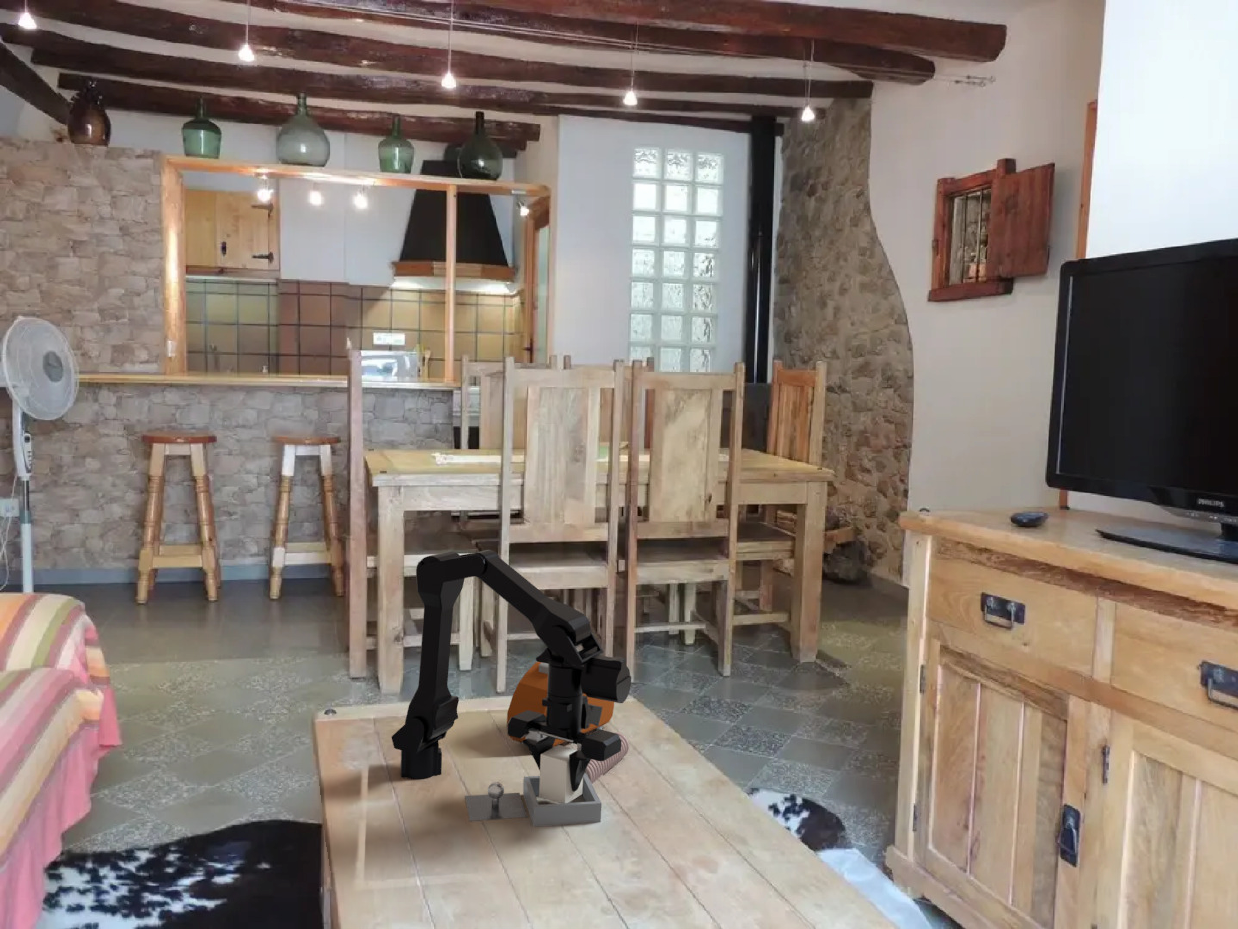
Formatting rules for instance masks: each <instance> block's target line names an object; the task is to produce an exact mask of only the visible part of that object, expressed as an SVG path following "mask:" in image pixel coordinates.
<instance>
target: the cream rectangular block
mask: <svg viewBox="0 0 1238 929" xmlns="http://www.w3.org/2000/svg"><path fill="white" fill-rule="evenodd" d="M575 751H577V749H575V748H573V747H572V748H571V747H567V746H565V745H561V744H559V745H557V746H555V747H554V748H552V749H550V750H548V751H546V752H544V753H542V754H541V760H540V770H539V776H540V785H539V796H538V798H539V797H540V798H542V799H544V800H545V799H546V800H548V801H552V802H555V803H556V804H561V803H571V802H572V801H574V800H575V799H576V798H578V797H580V796H581V795H583V794H582V787H583V778H582V780H581V783H580V785H579V787H578V789H577V790H576V791H575V792H574V791H572V787H571V778H570V762H569V755H570V754H572V753H574V752H575Z"/></svg>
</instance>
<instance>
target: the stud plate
mask: <svg viewBox="0 0 1238 929" xmlns="http://www.w3.org/2000/svg"><path fill="white" fill-rule="evenodd" d="M464 799H465V803H466V810H467V814H468V821H469V822H475V821H477V822H478V821H493V820H507V819H518V818H519V819H522V818H528V814H527V813H526V809H525V806H524V803H523V799H522V796H521V793H520V792H507V793H505V787H504V786H503V784H502V783H500V782H499V781H494V782H492V783H490V785H488V788H487V794H478V795H477V794H476V795H474V794H473V795H464Z"/></svg>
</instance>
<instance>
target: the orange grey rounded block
mask: <svg viewBox="0 0 1238 929" xmlns="http://www.w3.org/2000/svg"><path fill="white" fill-rule="evenodd" d="M547 688H548V664H547V663H542V662H537V661H536V662H534V664H533V665H532V666H531V667H530V668H529V669H528V670H527V671H525V673H524V675H523V676H522V678H521V679H520V680H519V682H518V683H517V686H516V688H515V690H514V692H513V694H512V696H511V700H510V702H509V707H508V709H507V715H506V725H507V724H508V722H509V720H510V719H511V718H512V717H513V716H516V715H518V714H520V713H522V712H524V711H527V710H529V711H533V712H537V713H541V714H544V715H545V716H546V711H547V707H546V706H542V699H544V698H546V697H547ZM583 695H584V696H586V694H583ZM587 698H588V704H592V705H596V706H600V707H603V709H602V713H601V718H600V722H599V726H596V725H593V724H590V725H589V728H587V729H581V732H582V733H586V734H587V733H589V732H591V731H597V730H599V729H601V730H603V726H604V725H606V724H608V723H609V722H610V721H611V719H612V718H613V715H614V709H615V702H611V701H606V700H600V699H595V698H590V697H587ZM507 737H509V738H510V739H511V740H513V741H515V742H518V743H520V744H521V745H524V744H523V740H525V739H526V735H525V736H524V737H523V738H521V739H520V738H516V737H513V736H509V735H508V734H507ZM565 742H567V741H563V740H560V739H555V742H554V744H553V748H554V747H555V746H557V745H561V744H564V743H565ZM524 746H525V745H524Z"/></svg>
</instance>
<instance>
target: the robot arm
mask: <svg viewBox="0 0 1238 929" xmlns="http://www.w3.org/2000/svg"><path fill="white" fill-rule="evenodd" d="M415 577H416V578H415V579H416V590H417V593H418V595H419V598H420V599H421V601H422V603H423V618H422V631H421V645H420V646H421V648H420V657H419V658H420V660H419V671H418V673H419V674H418V686H417V689H416V690H415V692H414V695H413V696H412V697H411V698H412V699H411V700H410V702H409V704H408V707H407V711H406V716H405V720H404V721H405V722H404V725H403V726H401V727H400V728H399V729H398V730H397V731H396V732H395V733H393V735H391V740H392V745H393V748H394V749H395V750H400V778H402V779H403V778H406V779H408V780H414V781H415V780H426V779H429V778H432V777H437V776H441V775H442V765H443V753H442V748H441V747H440V744H439V741H441V740H442V739H445V738H446V735H447V734H448V731H449V730H450V729H451V728H452V727H453V726H454V724H455V721H456V720H458V719H459V715H458V706H459V702H460V699H459V698H460V697H458V696H456V695H452V694H451V691H450V689H449V687H448V679H449V669H450V668H449V666H450V656H451V655H450V653H451V641H452V640H451V639H452V627H453V617H454V616H453V615H454V613H453V612H454V605H455V604H456V601H457V600H458V597H459V596H460V594H461V593H462V590H463V588H464V583H465V579H467V578H473V577H477V578H478V579H479V580H480V581H481V582H483V583H484V584H485V585H487V587H489V589H491V590H492V591H494V592H495V593H496V594H497V595H498V596H500V597H501V598H502V599H503V600H504V601H505V602H507V603H508V604H510V606H511V607H513V608H514V609H515V610H516V611H517V612H519V613H520V614H522V616H524V618H526V619H527V620H528V621H529V622H530V624H531V625H532V627H533V630H534V632H535V634H536V636H537V637H538V638H539V639H540V640H541V642H542V643H543V644H544V645H545V649H544V651H542V653H540V654H539V655H538V656H536V658H535V661H536V662H542V663H547V664H548V688H547V697H546V698H544V699H542V706H546V707H547V711H546V716H545V715H544V714H541V713H537V712H533V711H529V710H527V711H524V712H522V713H520V714H518V715H516V716H513V717H512V718H511V719H510V720H509V722H508V724H507V723H506V734H507V736H508V735H509V736H513V737H516V738H520V739H521V738H523V737H524V736H525V735H526V739H525V740H523V744H524V746H526V747H527V749H528V751H529V752H530V754H531V755H532V758H533V759H534V762H535V764H536V766H537V768H538V771H540V760H541V754H542V753H544V752H546V751H548V750H550V749H552V748H553V744H554V742H555V739H560V740H563V741H566V742H567V743H570V744H575V745H576V750H577V751H575V752H574V753H572V754H570V755H569V762H570V778H571V787H572V791H574V792H575V791H576V790H577V789H578V787H579V785H580V783H581V780H582V778H583V775H584V773H586V772H585V770H586V768H587V766H588V764H589V762H590V760H591V759H593V760H597V761H605V760H606V759H608V758H610V757H611V756H613V755H615V754H617V753H618V752H620V751H621V738H620V737H619V735H618V734H616V733H617V732H611V731H609V730H605V729H602V730H601V729H599V730H597V731H596V730H594V732H592V733H587V732H586V733H582V732H581V729H587V728H589V725H590V724H593V725H596V726H599V722H600V718H601V713H602V709H603V707H600V706H596V705H592V704H588V698H587V697H590V698H595V699H600V700H606V701H611V702H614V703H617V704H623V703H624V702H626V701H627V699H628V696H629V694H630V691H631V685H632V675H631V672H630V669H629V666H627V659H626V658H625V657H619V656H618V657H613V656H612V657H611V656H605V655H603V653H604V650H603V648H602V647H601V645H600V643H599V642H598V640H597V638H596V637H595V636H596V635H594V633H593V631H592V629H591V621H590V619H589V618H588V616H586V615H585V614H584V613H583V612H581V611H579V610H577V609H576V608H574V607H572V606H570V605H568V604H565V603H563V602H559V601H557V600H554V599H553V598H550V597H548V596H547V595H546V594H545V593H543V592H542V591H541V590H540V589H539V588H537V587H536V586H535V585H534V584H532V583H531V582H530V581H529V580H528V579H527V578H525V577H524V576H522V574H520V573H519V572H518V571H517V570H515V569H514V568H513V567H512V566H511V565H509V564H508V563H507V562H506V561H504V559H502V558H500V555H499V554H498V553H497V552H496V551H494V550H492V549H484V550H481V551H477V552H472V553H471V552H470V553H465V554H460V553H458V552H456V551H453V550H452V551H451V550H447V551H443V552H439V553H436V554H432V555H428V556H425V557H423V558H422V559H421V560H419V561H418V562H417V565H416V569H415ZM579 647H582V648H583V649H581V650H579V651H578V650H577V649H578V648H579ZM583 694H586V696H584V695H583ZM509 736H508V737H509ZM523 744H522V745H523Z"/></svg>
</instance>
